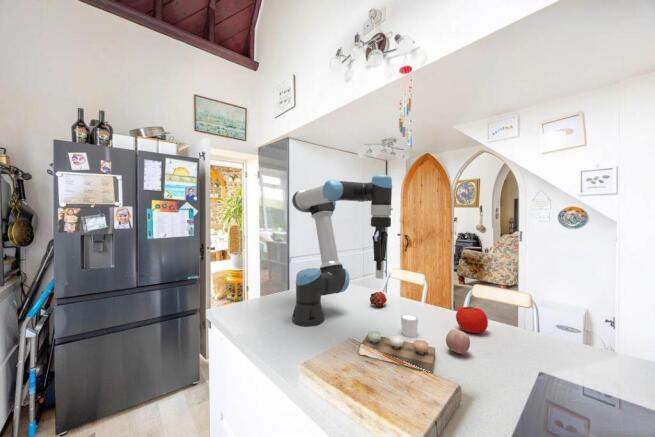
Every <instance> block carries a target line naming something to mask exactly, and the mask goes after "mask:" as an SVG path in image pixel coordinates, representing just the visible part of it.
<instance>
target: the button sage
mask: <svg viewBox="0 0 655 437" xmlns="http://www.w3.org/2000/svg"><path fill="white" fill-rule="evenodd" d="M367 335H368V339H369V340H370V341H372V343H373V344H377V342H378V341H380V340H381V337H382V333H381V332H380V331H376V330H371V331H369V332H367Z"/></svg>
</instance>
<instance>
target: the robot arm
mask: <svg viewBox="0 0 655 437" xmlns="http://www.w3.org/2000/svg"><path fill="white" fill-rule="evenodd" d="M392 193H393V178H392V177H391V176H390V175H388V174H387V175H385V174H378V175H373V176H372V177H371V181H370V182H358V181H357V182H356V181H346V180H337V179H333V180H331V179H330V180H326V181H325V183H324V184H323V185H320V186H317V187H314V188H310V189H308V190H307V189H300V190H297V191H296V192H295V193H294V194H293V195H292V198H291V199H292V200H291V203H292V206H293V207H294V208H295V209H296V210H297V211H299V212H301V213H310V214H311V216H310V217H311V218H312V219H314V222H315V228H316V235H317V242H318V247H319V254H320V261H321V265H320V266H319V267H317V268H316V267H312V268H310V267H309V268H304V269H302V270H300V271H298V272H297V273H296V275H295V276H296V278H295V306H294V309H293V312H292V314H291V315H292V316H291V317H292V318H291V319H292V321H291V322H292V323H293V324H294V325H297V326H301V327H311V326H318V325H320V324H322V323H324V322H325V320H326V319H325V312H324V310H323V306H322V298H321V297H322V296H327V295H334V294H339V293H340V294H341V293H343V292H345V291H347V289H348V287H349V285H350V274H349V271H348V270H347V269H346V268H345V267H344V266H343V263H341V262H340V261H339V256H338V250H337V245H336V239H335V233H334V228H333V222H332V216H333V214H334V211H336V205H337V202H338V201H347V202H348V201H349V202H359V203H360V202H361V203H363V202H371V203H370V216H371V217H370V226H371V227H373V228H374V232H373V235H372V236H371V237H372V242H373V247H372V248H373V262H375V276H374V277H375V279H381V280H383V279H384V274H385V273H384V272H385V270H384V268H385V262H387V259H386V257H387V256H386V255H387V254H386V253H387V243H388V236H389V235H388V234H389V233H388V232H387V228H390V227H391V226H392V217H391V216H392V211H393V210H394V208H393V207H392V198H393V197H392V195H393V194H392Z"/></svg>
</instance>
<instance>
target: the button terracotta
mask: <svg viewBox="0 0 655 437" xmlns="http://www.w3.org/2000/svg"><path fill="white" fill-rule="evenodd" d="M413 343H414V349H415V350H416V351H418V354H422V355H424V352H427V351H428V346H429V343H428V342H427V341H426V340H421V339H416V340H414V341H413Z"/></svg>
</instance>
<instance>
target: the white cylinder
mask: <svg viewBox="0 0 655 437" xmlns="http://www.w3.org/2000/svg"><path fill="white" fill-rule="evenodd" d="M400 322H401V332H402V335H403V336H404V337H408V338H415V337H417V335H418V325H419V317H418V316H417V315H414V314H409V313H408V314H402V315H401V316H400Z"/></svg>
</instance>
